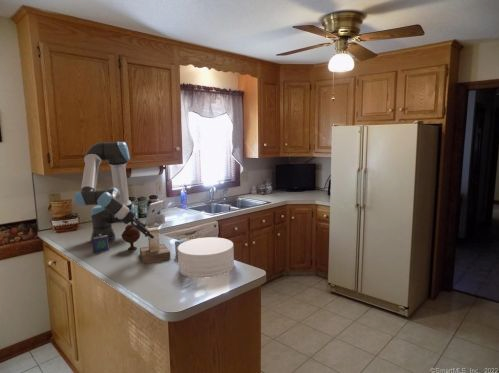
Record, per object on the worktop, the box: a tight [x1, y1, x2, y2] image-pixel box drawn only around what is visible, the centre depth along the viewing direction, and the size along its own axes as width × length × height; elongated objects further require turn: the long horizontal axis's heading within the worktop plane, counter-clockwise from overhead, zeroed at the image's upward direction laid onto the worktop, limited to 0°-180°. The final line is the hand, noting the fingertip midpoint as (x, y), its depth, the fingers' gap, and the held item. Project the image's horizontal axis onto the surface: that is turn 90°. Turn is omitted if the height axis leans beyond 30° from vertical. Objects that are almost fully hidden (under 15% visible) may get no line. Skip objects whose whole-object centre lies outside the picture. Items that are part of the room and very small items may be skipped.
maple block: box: [147, 226, 160, 252], centre depth 191 cm, size 5×5×12 cm
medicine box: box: [174, 237, 191, 258], centre depth 193 cm, size 8×4×9 cm, turn 141°
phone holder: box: [144, 200, 166, 228], centre depth 261 cm, size 17×10×18 cm, turn 154°
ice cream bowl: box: [121, 223, 141, 252], centre depth 205 cm, size 11×11×15 cm
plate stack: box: [177, 236, 235, 279], centre depth 175 cm, size 28×28×12 cm
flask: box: [91, 234, 110, 254], centre depth 203 cm, size 9×3×11 cm, turn 138°
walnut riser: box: [139, 243, 171, 264], centre depth 192 cm, size 16×14×4 cm
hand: (155, 237), depth 191 cm, fingers open, 13 cm apart
